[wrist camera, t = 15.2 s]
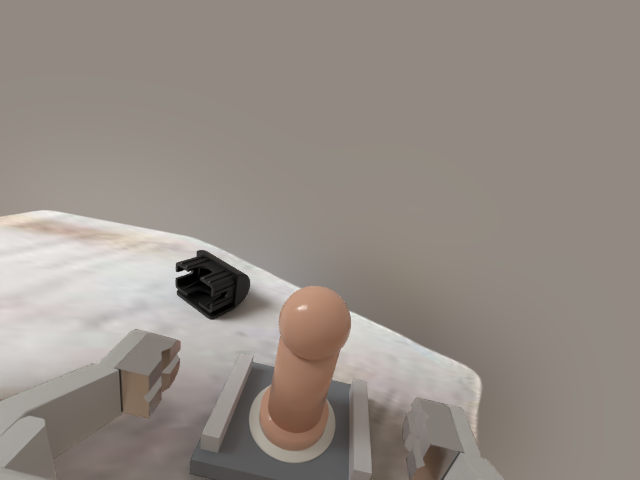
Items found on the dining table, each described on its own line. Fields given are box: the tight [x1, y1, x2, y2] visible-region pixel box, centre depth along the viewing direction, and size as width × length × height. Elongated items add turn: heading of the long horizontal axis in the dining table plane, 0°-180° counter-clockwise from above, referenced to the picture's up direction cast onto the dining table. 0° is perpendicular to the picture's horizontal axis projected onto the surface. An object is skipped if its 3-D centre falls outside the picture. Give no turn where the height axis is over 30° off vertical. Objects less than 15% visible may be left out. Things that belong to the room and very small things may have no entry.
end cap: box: [176, 250, 250, 319], centre depth 50 cm, size 10×7×7 cm
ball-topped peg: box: [259, 286, 351, 451], centre depth 29 cm, size 7×7×15 cm
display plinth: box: [190, 353, 372, 480], centre depth 32 cm, size 16×12×4 cm
